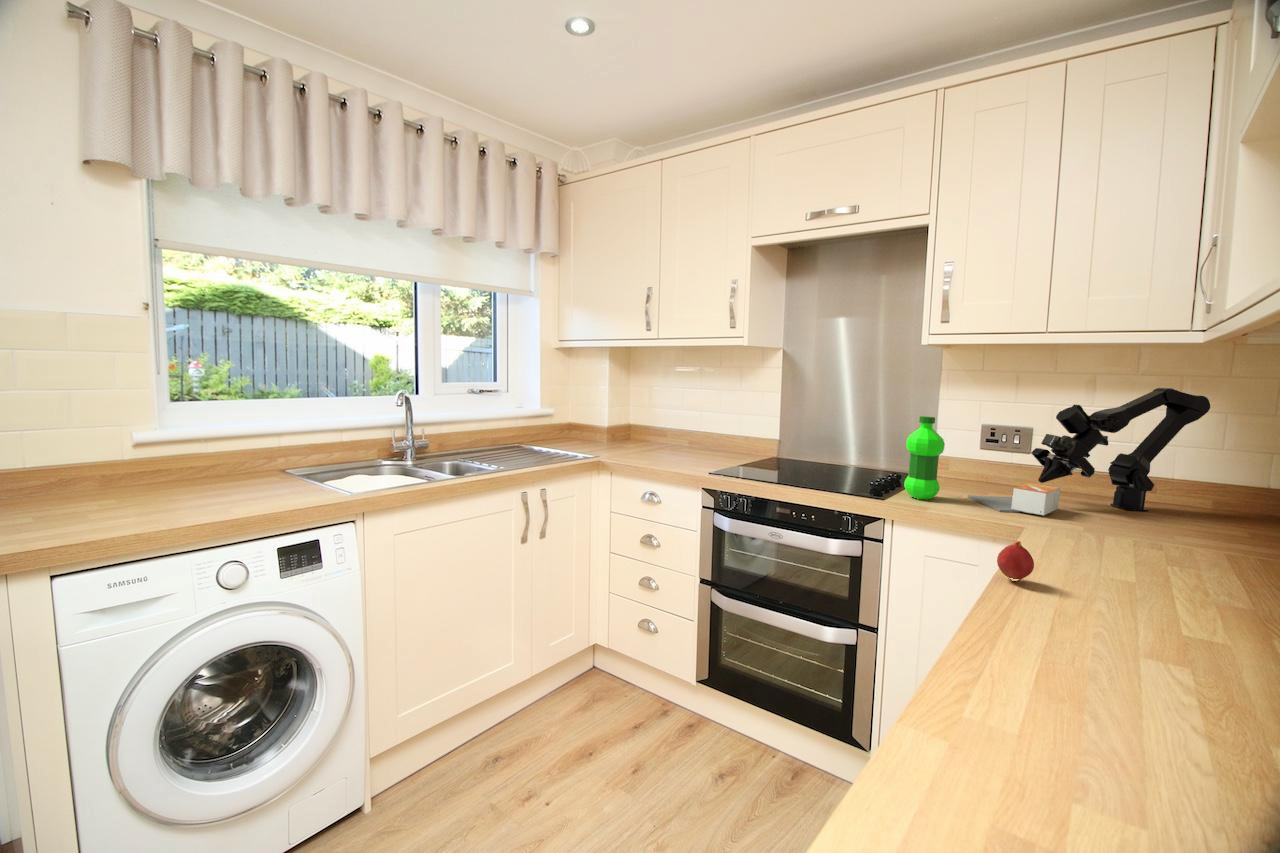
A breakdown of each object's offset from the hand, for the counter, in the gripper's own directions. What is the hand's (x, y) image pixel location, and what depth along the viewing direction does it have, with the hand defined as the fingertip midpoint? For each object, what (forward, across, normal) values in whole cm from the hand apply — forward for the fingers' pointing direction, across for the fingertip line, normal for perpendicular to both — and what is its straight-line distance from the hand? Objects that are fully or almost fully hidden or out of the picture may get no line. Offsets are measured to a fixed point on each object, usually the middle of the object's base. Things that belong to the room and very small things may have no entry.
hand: (1039, 481), depth 171 cm
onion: (+40, +60, -29) cm, 78 cm away
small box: (+2, +2, +3) cm, 4 cm away
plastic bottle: (+27, -8, -16) cm, 33 cm away
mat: (+11, -1, -1) cm, 11 cm away
